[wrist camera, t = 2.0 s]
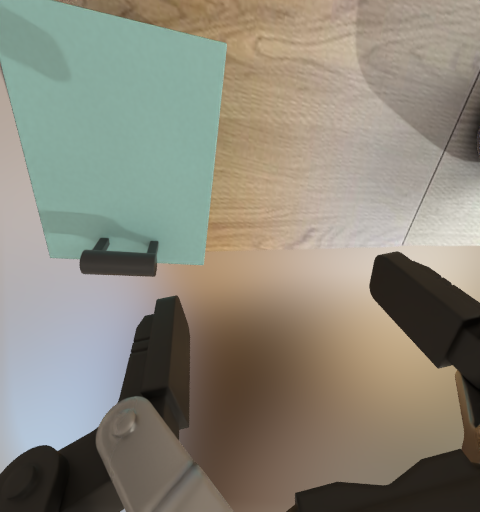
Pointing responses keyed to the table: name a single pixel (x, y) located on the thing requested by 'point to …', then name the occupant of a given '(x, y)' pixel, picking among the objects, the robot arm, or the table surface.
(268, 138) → the table surface
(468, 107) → the table surface
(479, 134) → the planter
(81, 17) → the lid
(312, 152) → the table surface
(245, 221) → the table surface
